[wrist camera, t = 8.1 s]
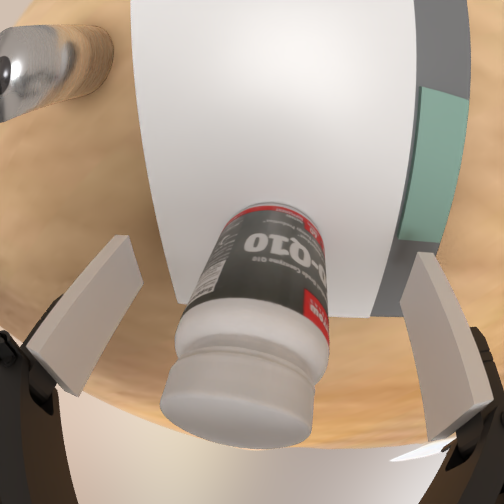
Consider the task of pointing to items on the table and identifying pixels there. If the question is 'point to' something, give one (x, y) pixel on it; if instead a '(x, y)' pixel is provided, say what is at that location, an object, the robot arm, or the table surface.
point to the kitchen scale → (305, 129)
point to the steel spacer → (50, 65)
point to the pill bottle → (253, 334)
